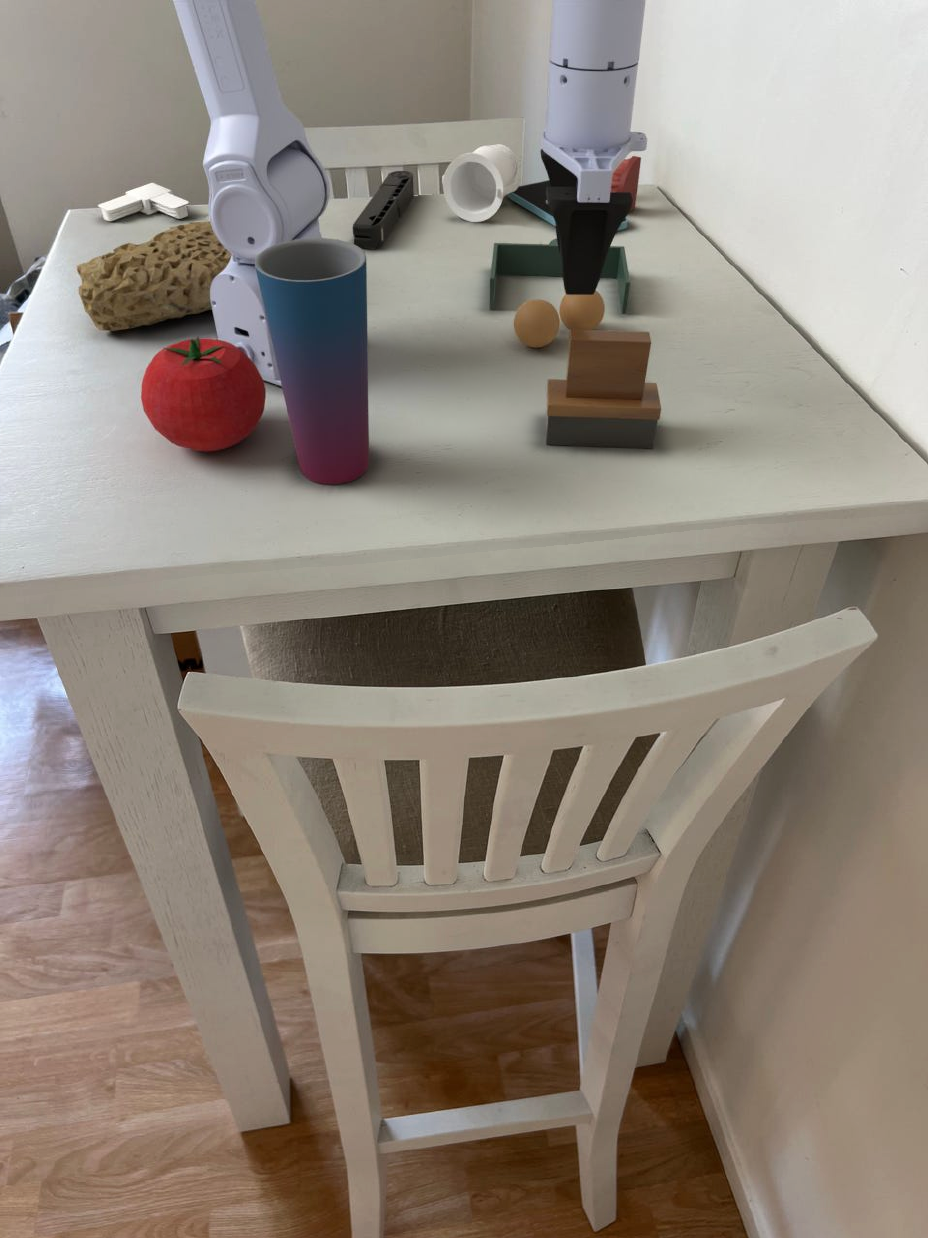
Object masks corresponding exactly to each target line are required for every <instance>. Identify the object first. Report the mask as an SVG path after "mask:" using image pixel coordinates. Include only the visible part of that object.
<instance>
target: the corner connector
mask: <svg viewBox="0 0 928 1238" xmlns="http://www.w3.org/2000/svg"><path fill="white" fill-rule="evenodd" d="M124 193H125V194H124V195H122V196H119V197H116V198H113V199H110V200H107V201H105V202H102V203H99V204H98V205H97V207H98V208H100V210H101V213H102V217H103V220H105V221H107V222H114V221H116V220H119V219H121V218H124V217H126V216H129V215H133V214H134V213H138V212H140V213H143V214H145V215H147V216H150V215H152V214H155V213H157V212H161V213H164V214H166V215H169V216H171V217H173V218H175V219H177V220H178V219H179V220H180V219H184V218H186V217H188V216H189V214H188V209H187V208H188V207H187V205H188V204H189V203H190V201H188V200H186V199H184V198H181V197H179V196H176V195H174V194H173V190H171V189H169V188H166V187H164V186H162V185H159V184H157V183H155V182H149V183H147V184H145V185H142V186H139V187H135V188H133V189H130V190H128V191H125V192H124Z"/></svg>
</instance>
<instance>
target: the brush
mask: <svg viewBox="0 0 928 1238" xmlns="http://www.w3.org/2000/svg"><path fill="white" fill-rule="evenodd" d="M651 347H652V339H651V334H650V331H633V330H632V331H629V330H600V329H594V330H572V329H571V330H569V337H568V350H567V362H566V370H565V371H566V372H565V379H557V378H555V379H554V378H548V379H547V383H546V413H545V414H546V415H545V445H549V446H550V445H551V446H573V447H602V448H603V447H604V448H626V449H627V448H628V449H654V445H655V439H656V433H657V428H658V423H659V422H658V421H660V419H661V413H662V404H661V398H660V394H659V387H658V382H646V381H647V380H646V379H647V372H648V367H649V366H648V365H649V360H650V354H651Z"/></svg>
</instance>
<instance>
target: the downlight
mask: <svg viewBox="0 0 928 1238" xmlns="http://www.w3.org/2000/svg"><path fill="white" fill-rule="evenodd" d="M518 165H519V164H518V160H517V157H516V155H515V153H514V152H513V150H512V149H511V148H509V147H508V146H506V145H504V144H499V143H497V144H492V145H482V146H480V147H478V148H476V149H475V150H474V151H473V152H466V153H463V154H460V155H458V156H456V157H455V158H454V159H453V160H452V161H451V162H450V163H449V164H448V166H447V167H446V169H445V171H444V174H443V175H442V176H441V185H442V192H443V196H444V199H445V201H446V204H447V206H448V207H449V208H450V210H451V211H452V212H453V213H454V214H455V215H456V216H457V217H459V218H461V220H464V221H466V222H471V223H481V222H484V221H486V220H489V219H490V218H491V217H493V216H494V215H495V214H496V213H497V212H498V211H499V209H500V207H501V205H502V202H503V199H504V197H505V196H506V195H509V193H511V192H514V191H516V190H517V188H518V186H520V185H519V184H520V179H517V180H516V182H514V181H515V179H516V176H517V173H518V167H519V166H518Z"/></svg>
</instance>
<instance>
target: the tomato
mask: <svg viewBox="0 0 928 1238" xmlns="http://www.w3.org/2000/svg"><path fill="white" fill-rule="evenodd" d="M142 377H143V378H142V381H141V391H140V398H141V400H140V401H141V404H142V409H143V412H144V414H145V416H146V417H147V419H148V421H149V422H150V424H151V426H152V427H153V429H154V430H155V431H156V432H158V433H159V434H160V435H161V436H162V437H164V438H165V439H166V440H167V441H169V442H170V443H171V444H173V445H175V446H178V447H181V448H186V449H188V450H192V451H196V452H216V451H222V450H225V449H229V448H230V447H233V446H235V445H236V444H239V442H241V441H243V440H244V439H246V438H247V437H248V436H249V435H250V434H252V433H253V432H254V430H255V429H256V428H257V425H258V424H259V422H260V420H261V418H262V416H263V414H264V411H265V405H266V395H267V394H266V392H267V390H266V386H265V381H264V380H263V379H262V377H261V375H260V373H259V371H258V369H257V367H256V365H255V364H254V363H253V362H252V361H251V360H250V358H249V357H248V356H247V355H246V354H245V353H244V352H243V351H241V350H240V349H239V348H237V347H236V346H234V345H233V344H231V343H228V342H226V341H222V340H218V338H217V339H215V338H200V336H197V337H196V338H191V339H186V340H181V341H179V342H176V343H173V344H170V345H168V346H166V347H162V349H161V350H159V351H158V352H157V353H156V354H155V355H154V356H153V358H152V359H151V361H150V362H149V363H148V365H147V367H146V368H145V372H144V375H143V376H142Z"/></svg>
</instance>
